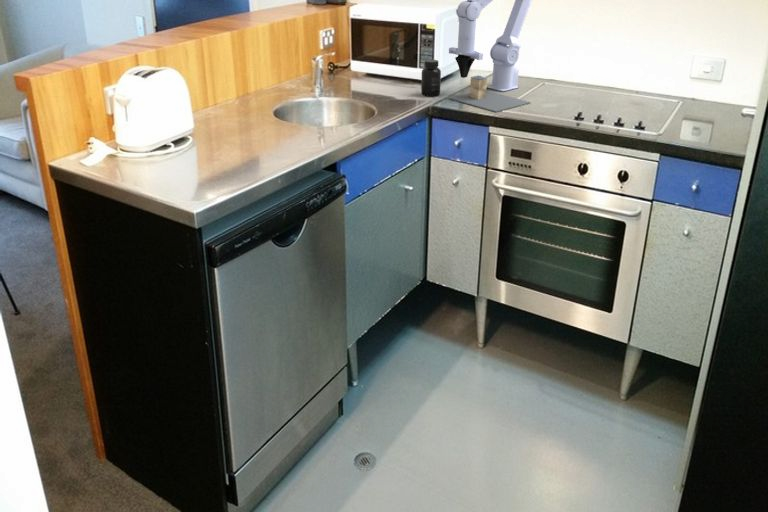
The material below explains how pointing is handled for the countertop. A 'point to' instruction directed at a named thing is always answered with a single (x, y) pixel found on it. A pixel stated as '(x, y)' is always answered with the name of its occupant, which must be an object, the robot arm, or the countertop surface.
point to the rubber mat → (490, 101)
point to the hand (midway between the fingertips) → (464, 77)
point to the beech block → (478, 87)
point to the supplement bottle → (431, 79)
